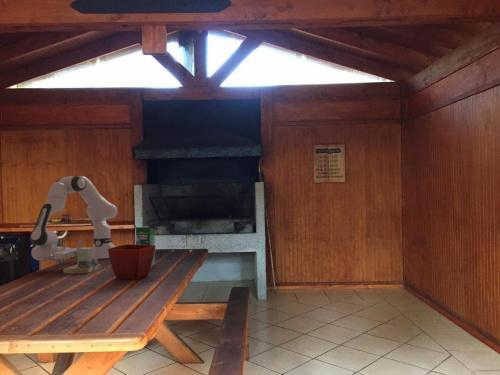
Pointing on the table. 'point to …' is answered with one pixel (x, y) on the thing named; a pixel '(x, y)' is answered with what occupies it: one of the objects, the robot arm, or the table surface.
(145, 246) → the plant pot
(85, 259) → the pale green handled box
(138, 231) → the milk carton
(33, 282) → the table surface
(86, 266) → the dock
